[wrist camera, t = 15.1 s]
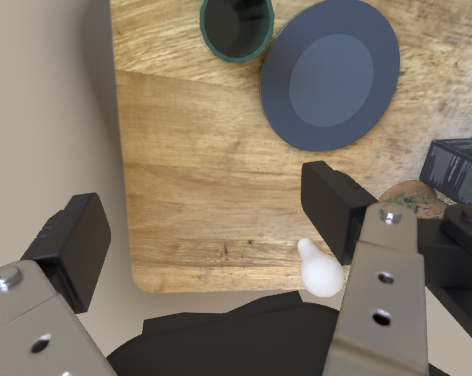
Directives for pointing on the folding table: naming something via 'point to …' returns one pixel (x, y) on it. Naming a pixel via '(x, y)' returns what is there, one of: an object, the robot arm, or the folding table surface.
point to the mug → (416, 199)
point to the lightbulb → (319, 270)
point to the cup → (235, 27)
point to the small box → (450, 169)
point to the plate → (329, 74)
